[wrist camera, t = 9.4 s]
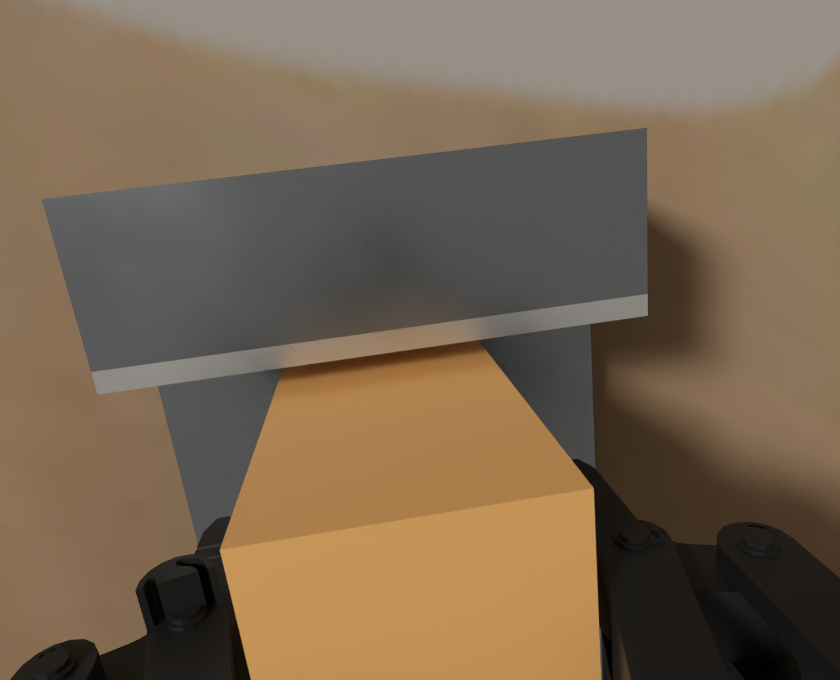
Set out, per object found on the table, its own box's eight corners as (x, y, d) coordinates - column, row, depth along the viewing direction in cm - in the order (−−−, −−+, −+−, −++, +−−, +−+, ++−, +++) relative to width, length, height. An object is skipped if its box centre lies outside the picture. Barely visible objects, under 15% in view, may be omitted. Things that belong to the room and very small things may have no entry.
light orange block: (488, 542, 19) (607, 858, 10) (328, 569, 18) (309, 922, 10) (467, 327, 17) (593, 488, 8) (288, 352, 16) (219, 549, 8)
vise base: (593, 779, 27) (680, 995, 20) (287, 842, 26) (264, 1093, 19) (566, 140, 20) (692, 122, 12) (127, 192, 18) (-13, 205, 11)
